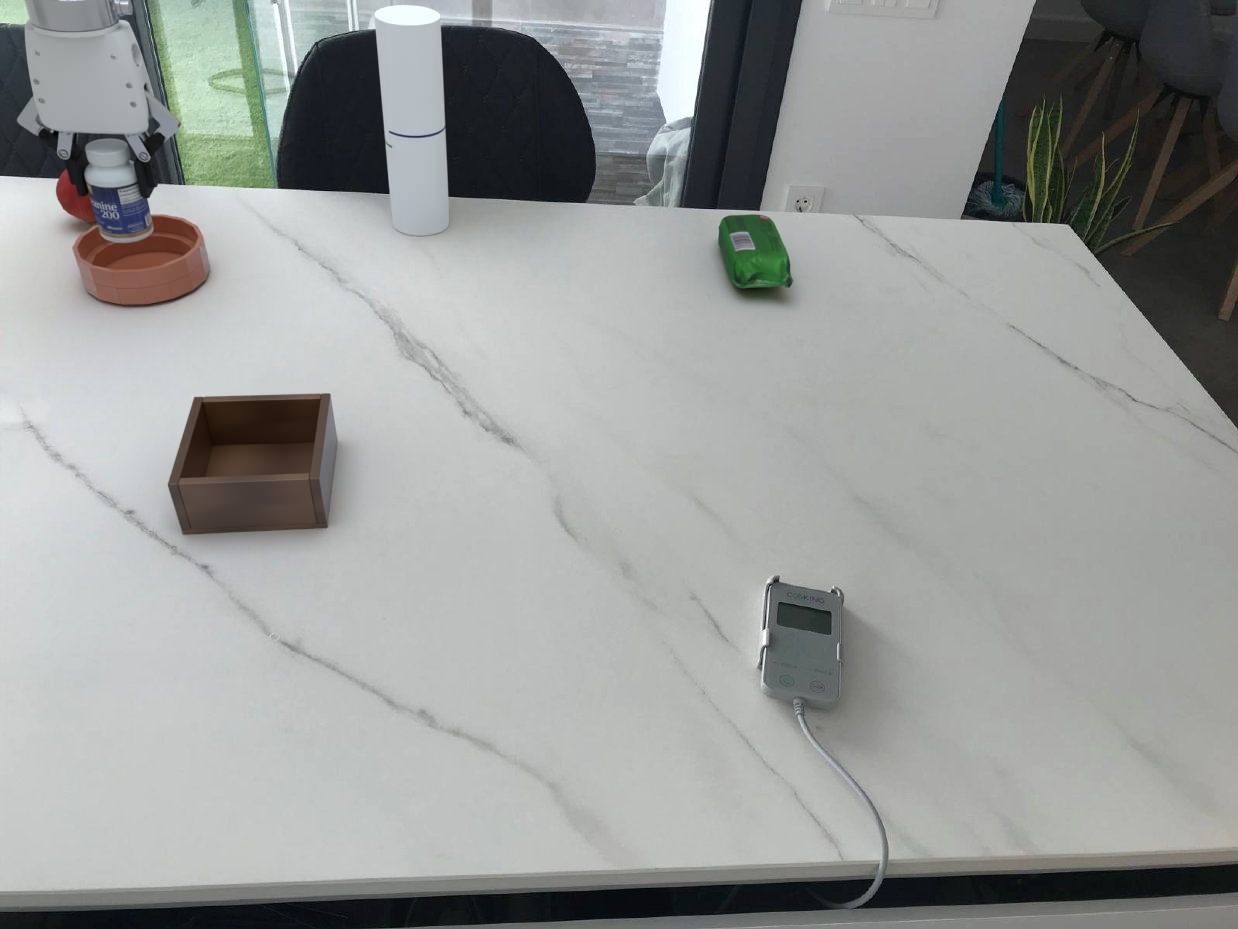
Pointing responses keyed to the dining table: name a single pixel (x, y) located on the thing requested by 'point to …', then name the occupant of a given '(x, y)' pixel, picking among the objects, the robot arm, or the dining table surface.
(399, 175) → the cylindrical container
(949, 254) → the dining table surface
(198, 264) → the bowl
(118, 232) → the pill bottle
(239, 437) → the holder
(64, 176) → the onion
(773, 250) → the snack package
